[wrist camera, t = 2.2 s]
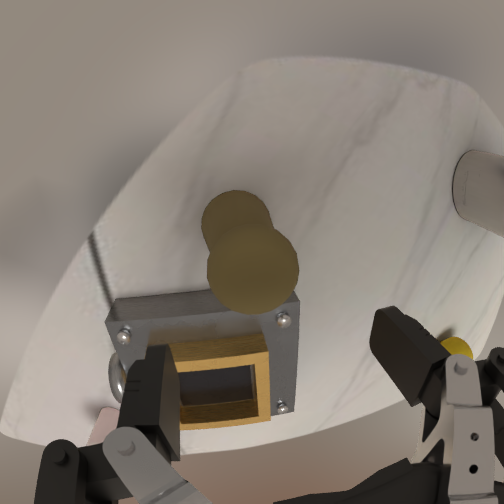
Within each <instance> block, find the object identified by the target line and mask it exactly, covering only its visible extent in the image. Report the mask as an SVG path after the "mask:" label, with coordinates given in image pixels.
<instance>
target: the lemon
mask: <svg viewBox="0 0 504 504" xmlns="http://www.w3.org/2000/svg"><path fill="white" fill-rule="evenodd" d="M440 344H441V345H442V346H443V347H444V348H445V349H446V350H447V351H448V352H449V353H450V354H451V355H454V354H463V355H466V356H468V357H470V358H471V359H473V353H472V351H471V348H470V347H469V345H468V344H467V343H466V342H465V341H464V340H462V339H461V338H458V337H450V338H447V339H445V340H443V341H441V342H440Z"/></svg>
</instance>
